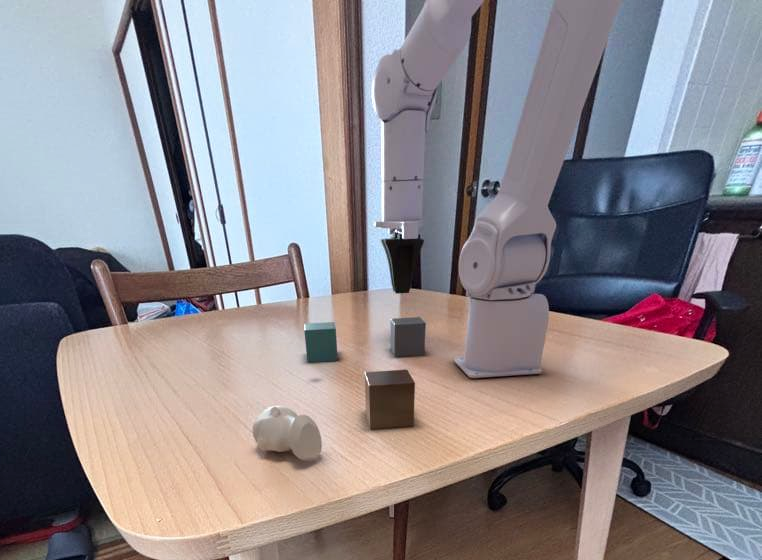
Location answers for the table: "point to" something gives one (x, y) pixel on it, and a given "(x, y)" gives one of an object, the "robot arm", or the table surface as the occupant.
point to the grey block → (407, 337)
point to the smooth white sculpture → (287, 432)
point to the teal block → (321, 342)
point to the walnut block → (389, 399)
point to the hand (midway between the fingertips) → (401, 292)
